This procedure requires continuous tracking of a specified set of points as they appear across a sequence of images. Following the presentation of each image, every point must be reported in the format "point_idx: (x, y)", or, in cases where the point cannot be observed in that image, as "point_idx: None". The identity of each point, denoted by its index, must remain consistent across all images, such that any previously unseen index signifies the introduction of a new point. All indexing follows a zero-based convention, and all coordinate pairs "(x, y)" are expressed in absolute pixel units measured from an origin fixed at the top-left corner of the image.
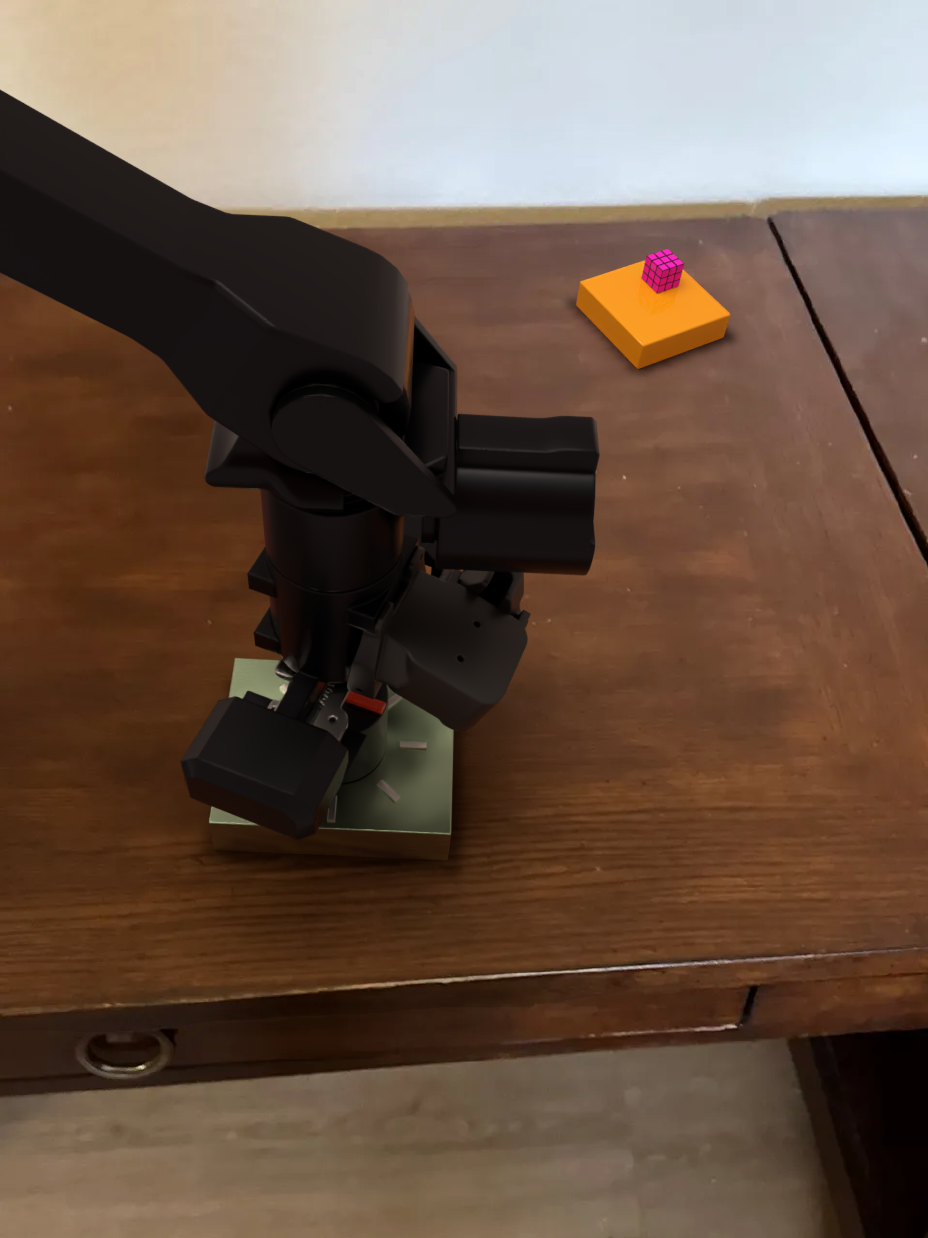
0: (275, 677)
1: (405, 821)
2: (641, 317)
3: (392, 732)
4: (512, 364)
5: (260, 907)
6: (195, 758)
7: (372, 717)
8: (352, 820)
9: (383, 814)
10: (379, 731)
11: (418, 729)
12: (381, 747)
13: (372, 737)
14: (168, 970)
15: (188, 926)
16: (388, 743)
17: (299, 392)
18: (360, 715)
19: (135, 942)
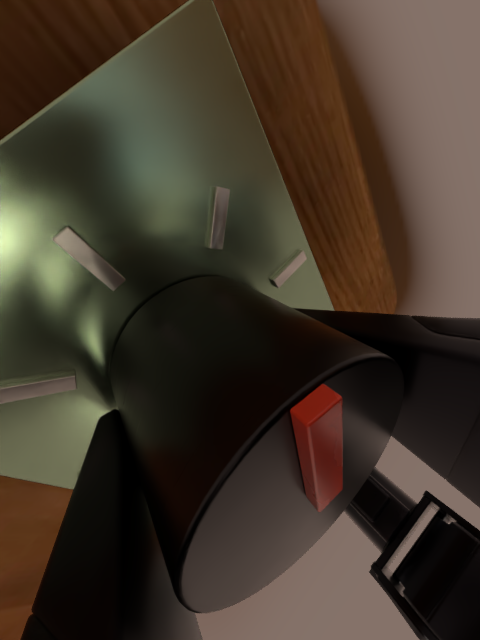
0: None
1: (243, 139)
2: None
3: (108, 319)
4: None
5: (322, 247)
6: None
7: (337, 385)
8: (287, 229)
9: (256, 191)
10: (268, 331)
11: (39, 287)
12: (203, 298)
13: (299, 326)
14: (374, 260)
15: (350, 278)
16: (136, 303)
17: None
18: (344, 406)
19: (366, 293)
